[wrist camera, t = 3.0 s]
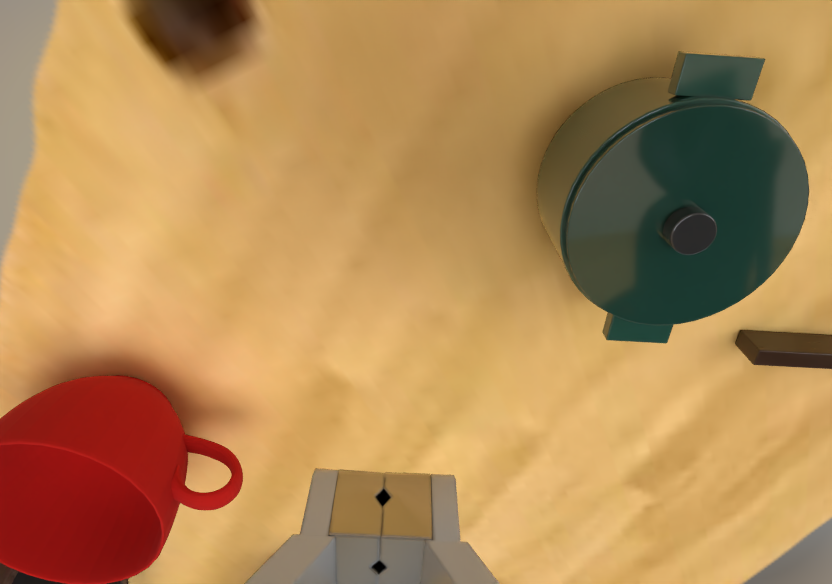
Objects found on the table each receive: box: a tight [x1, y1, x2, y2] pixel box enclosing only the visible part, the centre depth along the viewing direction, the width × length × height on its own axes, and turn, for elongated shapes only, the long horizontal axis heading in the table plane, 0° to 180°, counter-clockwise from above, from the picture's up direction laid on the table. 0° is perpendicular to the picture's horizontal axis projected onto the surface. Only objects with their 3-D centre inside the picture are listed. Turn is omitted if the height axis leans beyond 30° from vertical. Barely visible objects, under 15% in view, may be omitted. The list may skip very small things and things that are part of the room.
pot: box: [537, 51, 809, 343], centre depth 30 cm, size 15×12×8 cm
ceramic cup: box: [0, 375, 243, 584], centre depth 38 cm, size 13×17×10 cm
